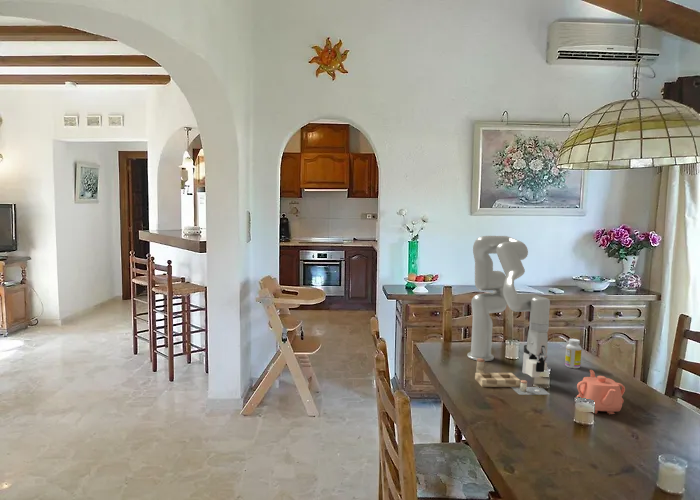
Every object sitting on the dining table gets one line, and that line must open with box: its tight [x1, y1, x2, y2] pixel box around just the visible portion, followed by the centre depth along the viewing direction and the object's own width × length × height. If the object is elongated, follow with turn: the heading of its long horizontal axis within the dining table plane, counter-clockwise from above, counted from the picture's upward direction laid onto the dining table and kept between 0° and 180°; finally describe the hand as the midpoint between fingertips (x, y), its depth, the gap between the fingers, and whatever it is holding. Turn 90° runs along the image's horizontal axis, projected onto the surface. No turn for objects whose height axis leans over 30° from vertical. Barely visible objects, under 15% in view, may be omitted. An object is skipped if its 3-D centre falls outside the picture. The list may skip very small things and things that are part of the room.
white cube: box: [526, 359, 548, 378], centre depth 214 cm, size 6×6×6 cm
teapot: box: [576, 369, 626, 415], centre depth 190 cm, size 15×17×13 cm
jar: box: [521, 344, 542, 375], centre depth 229 cm, size 9×8×12 cm
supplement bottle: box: [564, 338, 583, 369], centre depth 240 cm, size 7×7×13 cm
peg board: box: [474, 372, 521, 388], centre depth 214 cm, size 9×16×3 cm, turn 95°
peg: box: [475, 358, 486, 373], centre depth 221 cm, size 3×3×8 cm
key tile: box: [510, 379, 552, 396], centre depth 206 cm, size 8×13×4 cm, turn 95°
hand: (536, 368), depth 214 cm, fingers closed on white cube, 6 cm apart
